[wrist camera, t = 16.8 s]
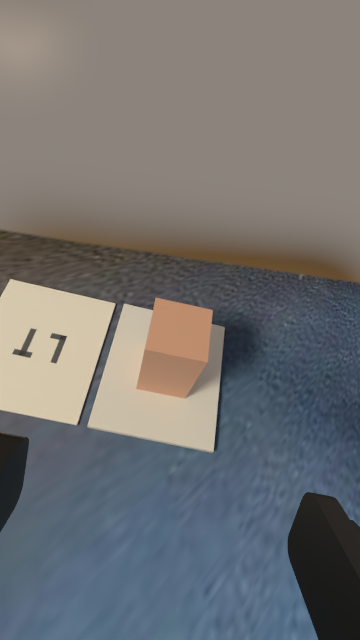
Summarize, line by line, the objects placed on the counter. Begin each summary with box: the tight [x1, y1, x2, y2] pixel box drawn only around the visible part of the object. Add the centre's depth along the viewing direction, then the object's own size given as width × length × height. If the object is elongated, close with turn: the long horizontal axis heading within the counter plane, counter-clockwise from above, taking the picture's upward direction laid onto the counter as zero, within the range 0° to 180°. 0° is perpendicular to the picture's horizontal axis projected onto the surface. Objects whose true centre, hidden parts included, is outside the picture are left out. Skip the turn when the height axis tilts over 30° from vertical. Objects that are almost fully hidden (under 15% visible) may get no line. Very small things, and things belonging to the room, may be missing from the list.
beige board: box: [87, 304, 225, 453], centre depth 35 cm, size 12×14×1 cm
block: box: [136, 298, 213, 399], centre depth 30 cm, size 5×5×9 cm
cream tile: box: [0, 279, 116, 425], centre depth 34 cm, size 12×14×1 cm
